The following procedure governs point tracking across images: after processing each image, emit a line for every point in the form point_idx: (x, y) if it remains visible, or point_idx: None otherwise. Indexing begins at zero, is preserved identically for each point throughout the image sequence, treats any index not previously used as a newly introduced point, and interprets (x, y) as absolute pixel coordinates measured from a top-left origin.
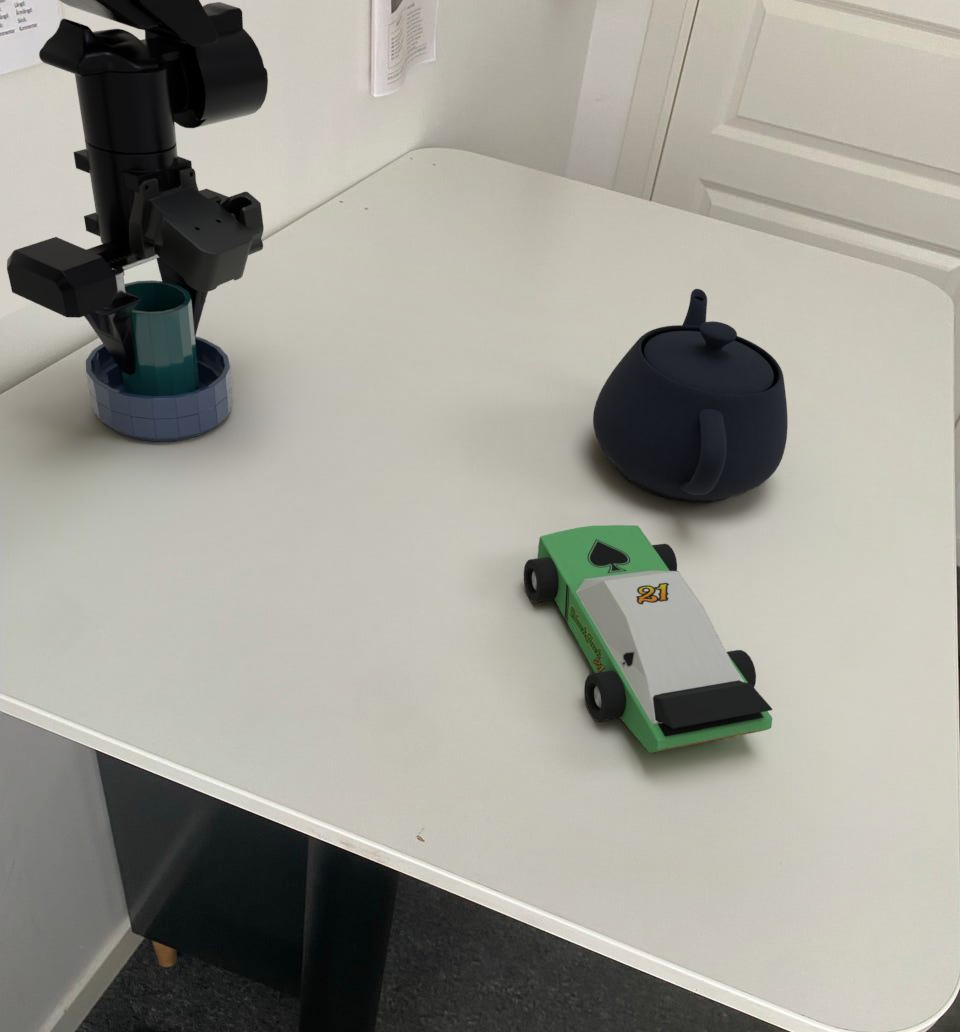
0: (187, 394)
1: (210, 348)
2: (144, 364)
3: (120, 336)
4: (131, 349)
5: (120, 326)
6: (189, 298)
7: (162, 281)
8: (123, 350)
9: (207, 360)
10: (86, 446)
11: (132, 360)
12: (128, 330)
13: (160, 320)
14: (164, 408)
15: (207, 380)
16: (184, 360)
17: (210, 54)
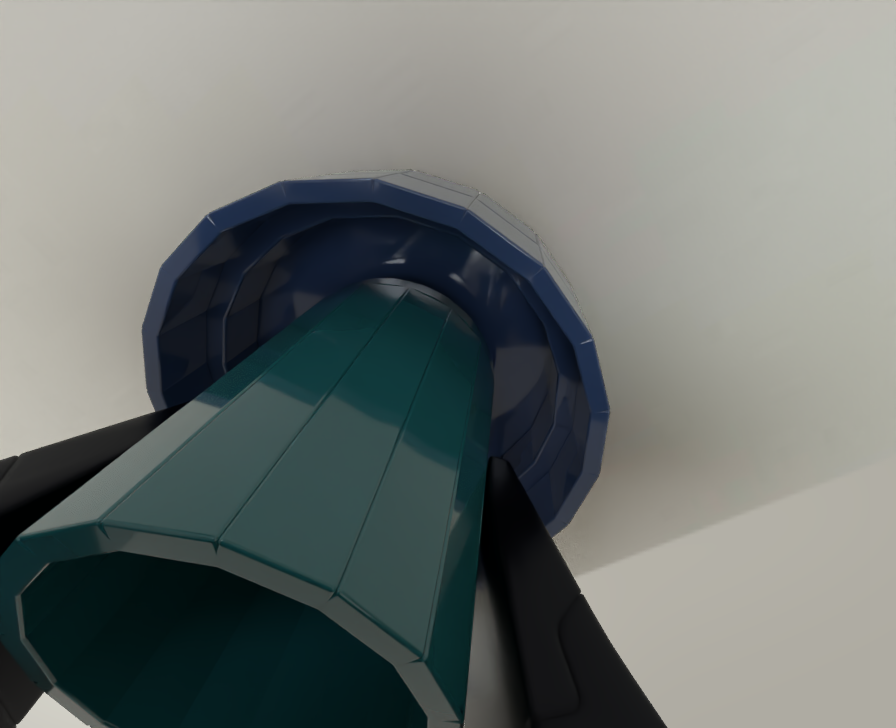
0: (495, 237)
1: (168, 351)
2: (479, 450)
3: (601, 629)
4: (512, 529)
5: (620, 697)
6: (27, 546)
7: None
8: (558, 550)
9: (203, 347)
10: (641, 418)
11: (509, 492)
12: (546, 630)
13: (379, 562)
14: (565, 289)
15: (253, 319)
16: (358, 343)
17: None
